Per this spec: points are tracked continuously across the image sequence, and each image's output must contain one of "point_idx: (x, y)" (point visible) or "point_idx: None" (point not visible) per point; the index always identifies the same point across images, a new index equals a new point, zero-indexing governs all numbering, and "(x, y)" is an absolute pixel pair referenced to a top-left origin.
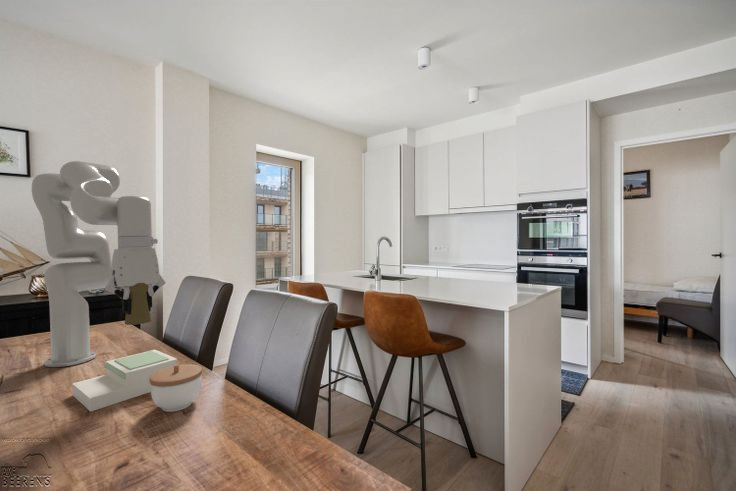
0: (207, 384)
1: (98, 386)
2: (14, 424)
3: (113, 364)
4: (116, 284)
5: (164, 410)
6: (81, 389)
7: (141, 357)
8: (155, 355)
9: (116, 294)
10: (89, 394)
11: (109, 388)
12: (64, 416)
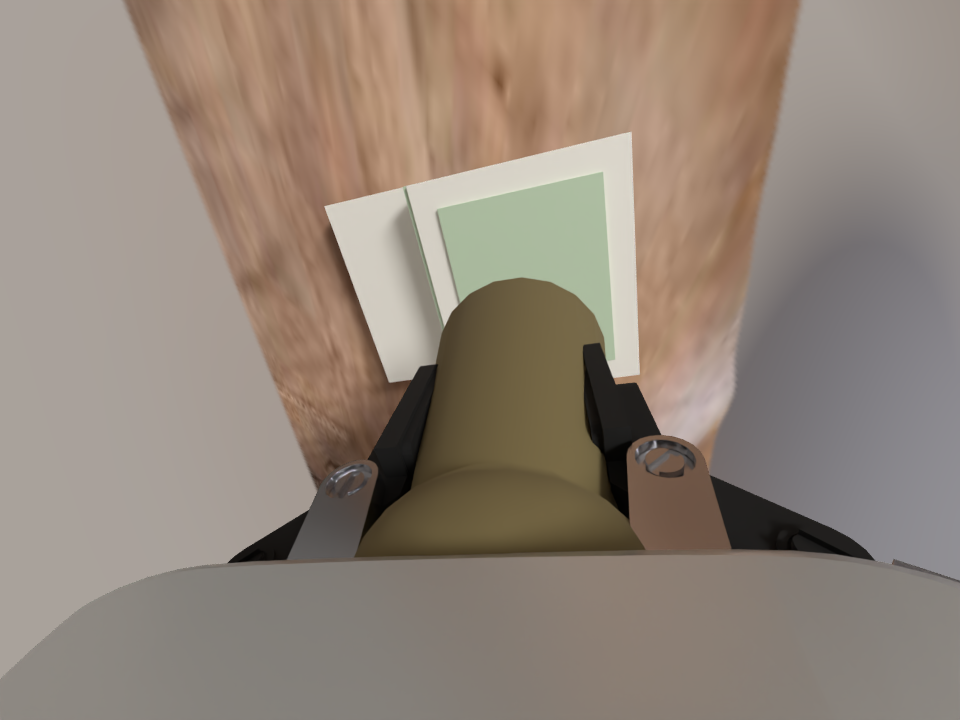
0: (674, 404)
1: (403, 304)
2: (260, 317)
3: (433, 263)
4: (141, 604)
5: None
6: (360, 294)
7: (536, 263)
8: (590, 277)
9: (280, 543)
10: (385, 353)
11: (431, 346)
12: (351, 350)
